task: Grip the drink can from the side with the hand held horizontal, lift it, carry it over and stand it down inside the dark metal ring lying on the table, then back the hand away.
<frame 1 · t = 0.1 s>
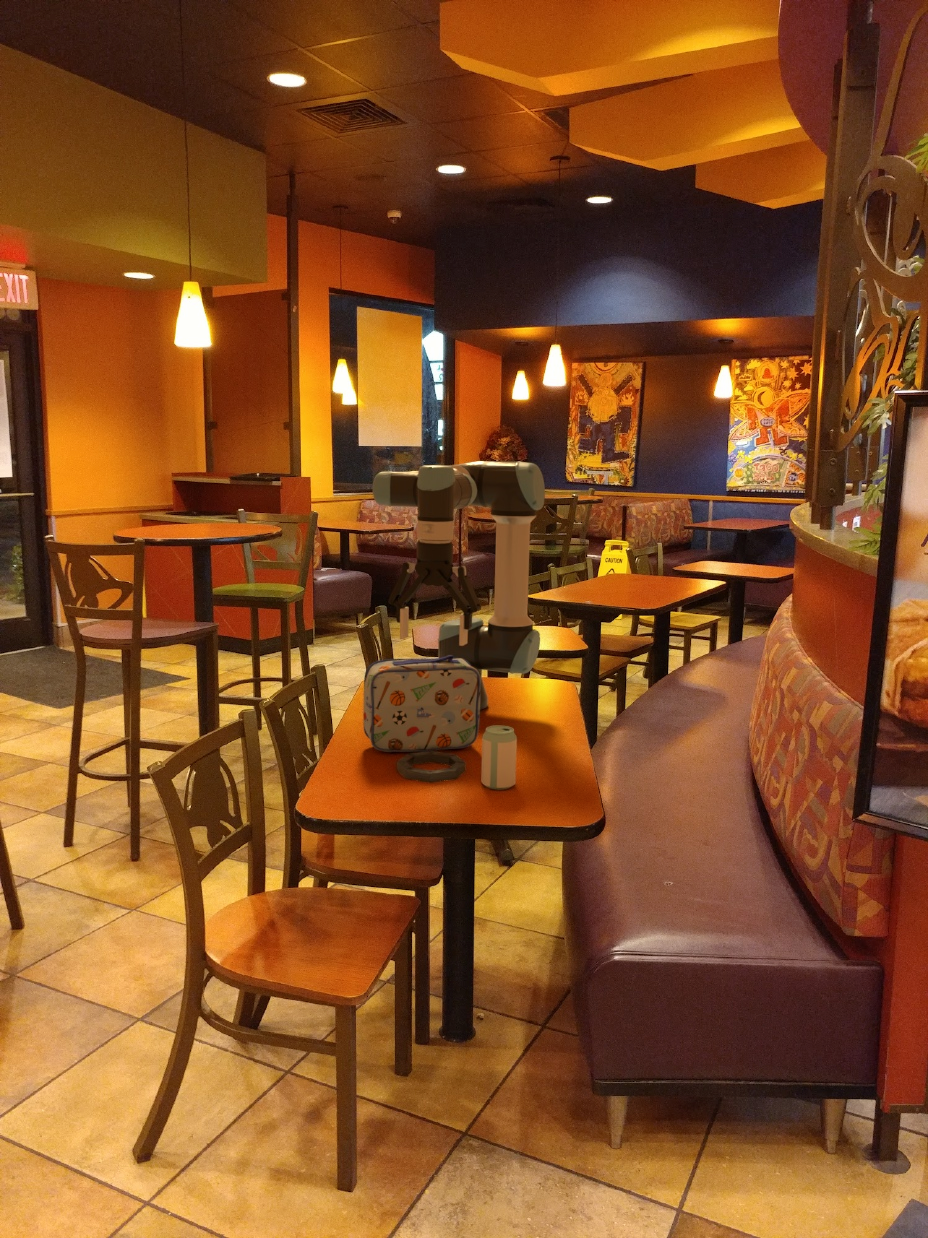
hand: (433, 641, 203), 28 cm above the table, tool pointing down, fingers open, 13 cm apart
ring: (431, 770, 206), on the table
lunch box: (423, 748, 222), on the table
can: (498, 785, 199), on the table
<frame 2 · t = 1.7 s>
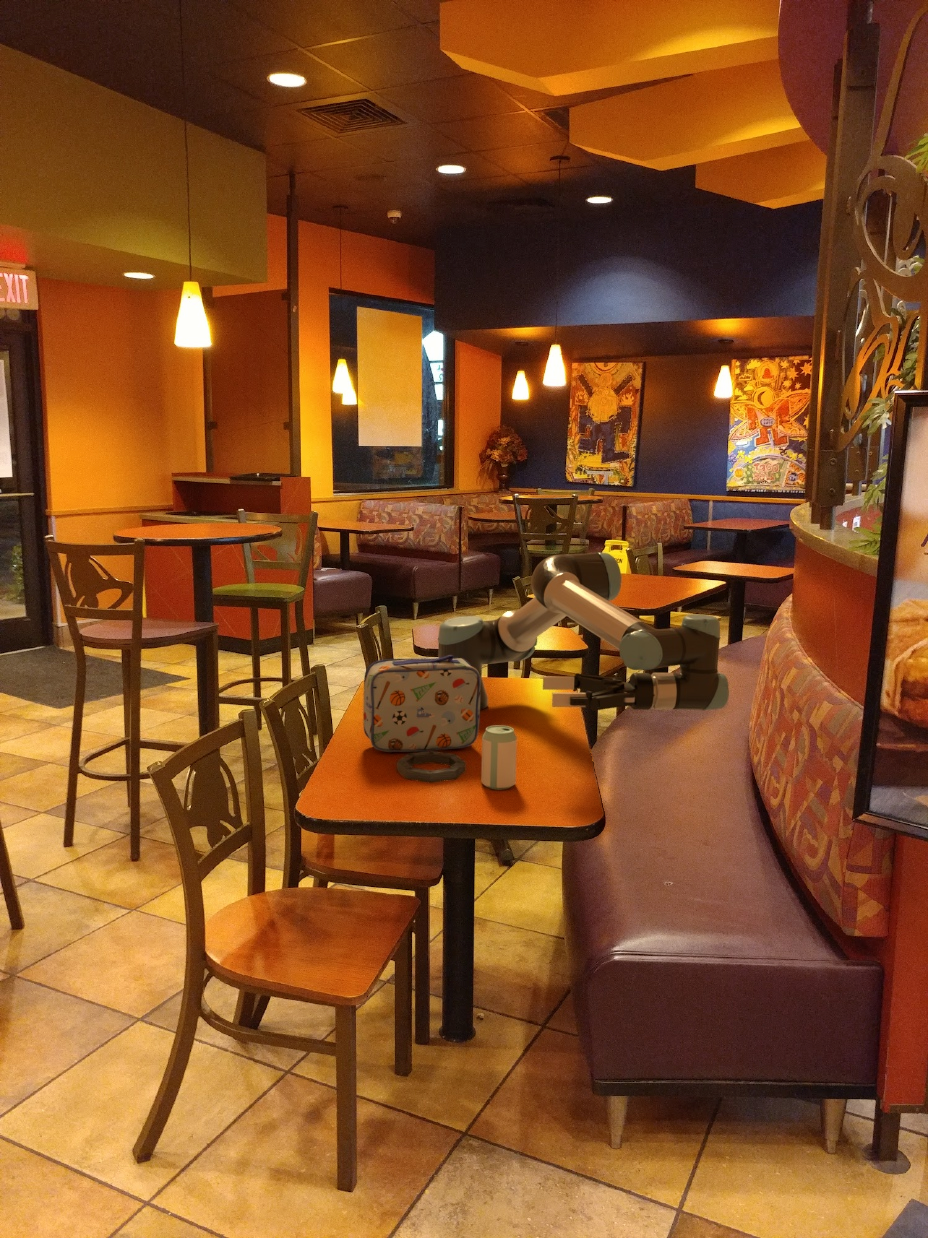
hand: (547, 691, 195), 20 cm above the table, tool horizontal, fingers open, 13 cm apart
nothing on the table moved.
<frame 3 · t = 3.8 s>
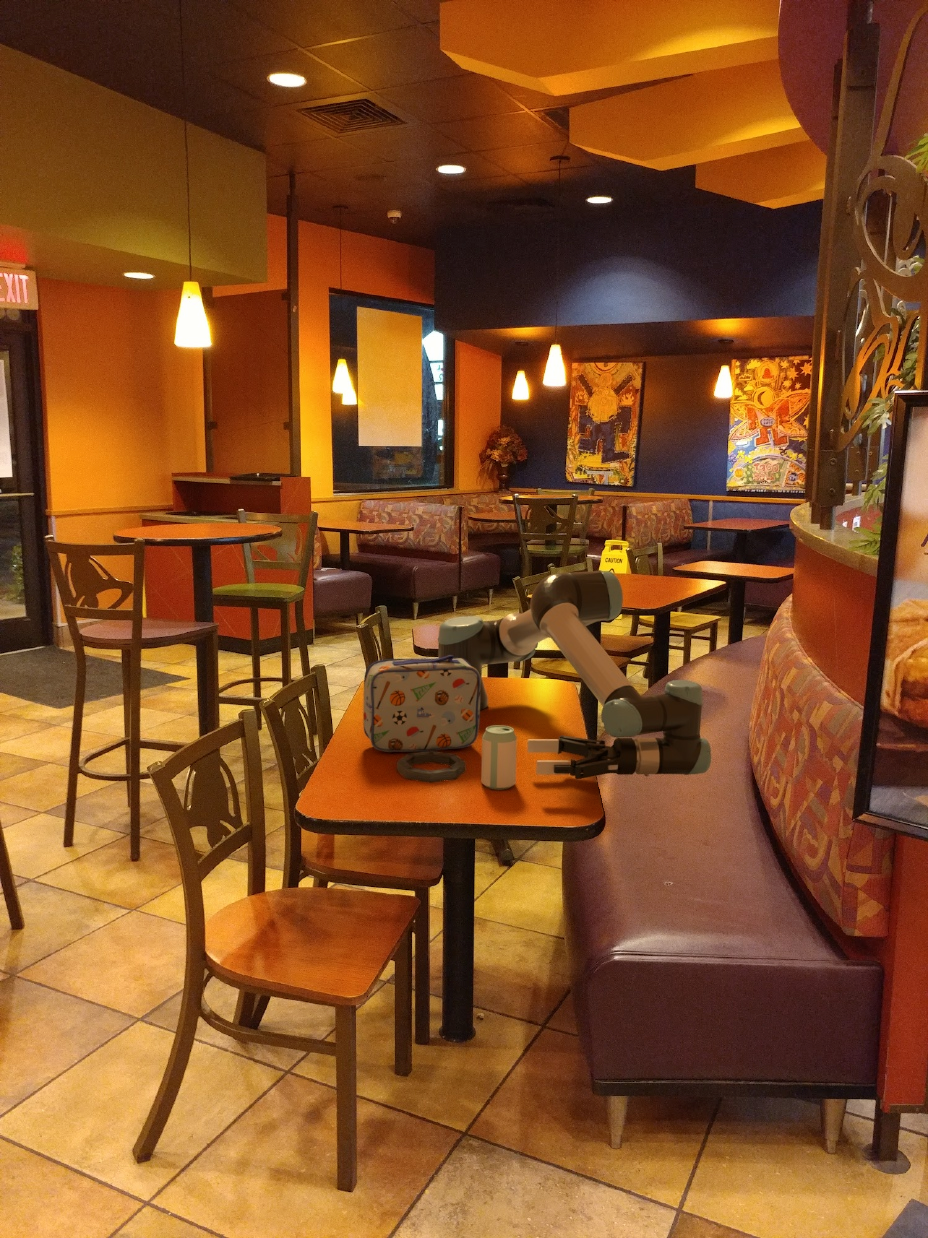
hand: (531, 756, 197), 6 cm above the table, tool horizontal, fingers open, 13 cm apart
nothing on the table moved.
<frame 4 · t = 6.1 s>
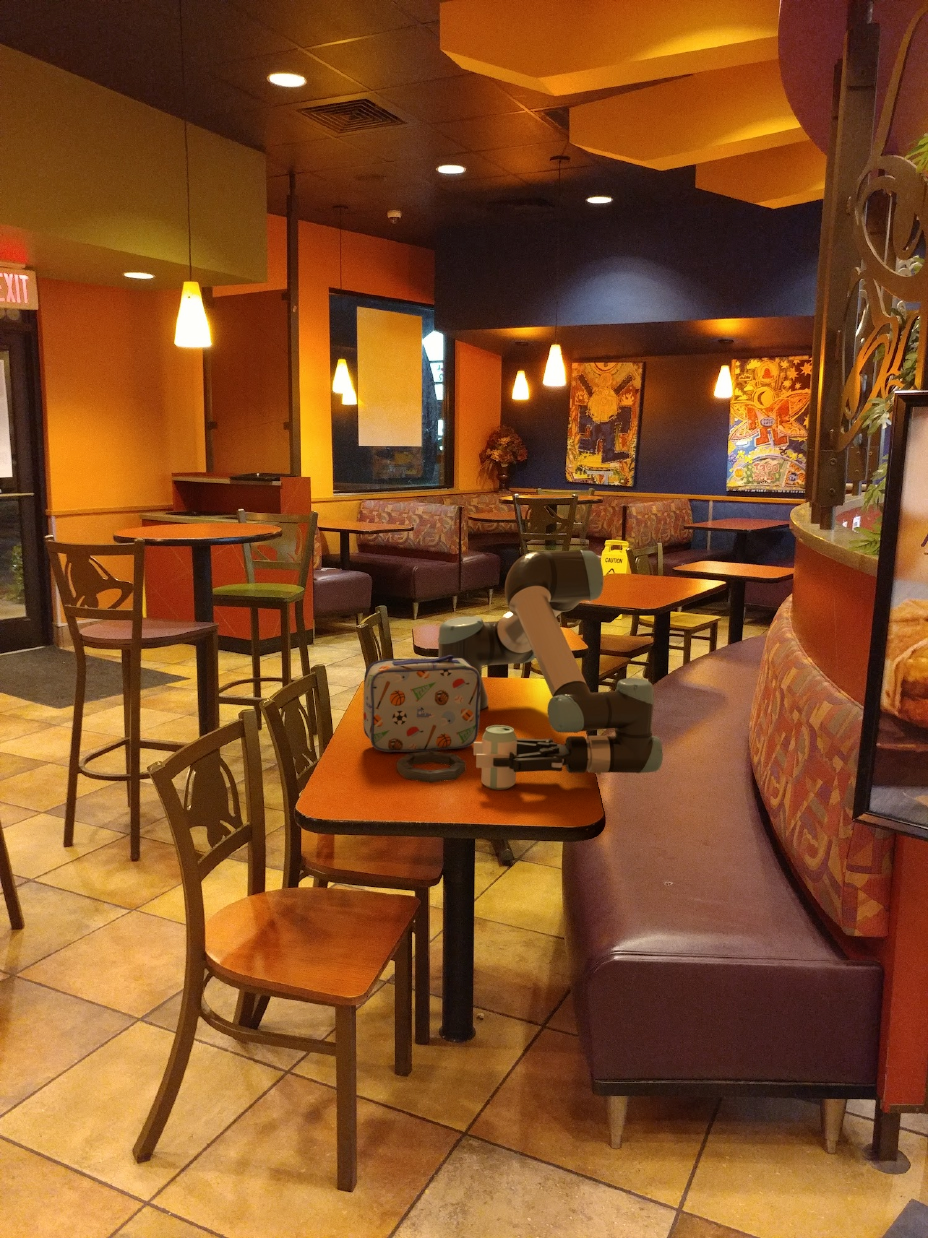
hand: (475, 754, 197), 7 cm above the table, tool horizontal, fingers closed on can, 7 cm apart
can: (498, 785, 199), on the table, touching gripper
everything else where it was.
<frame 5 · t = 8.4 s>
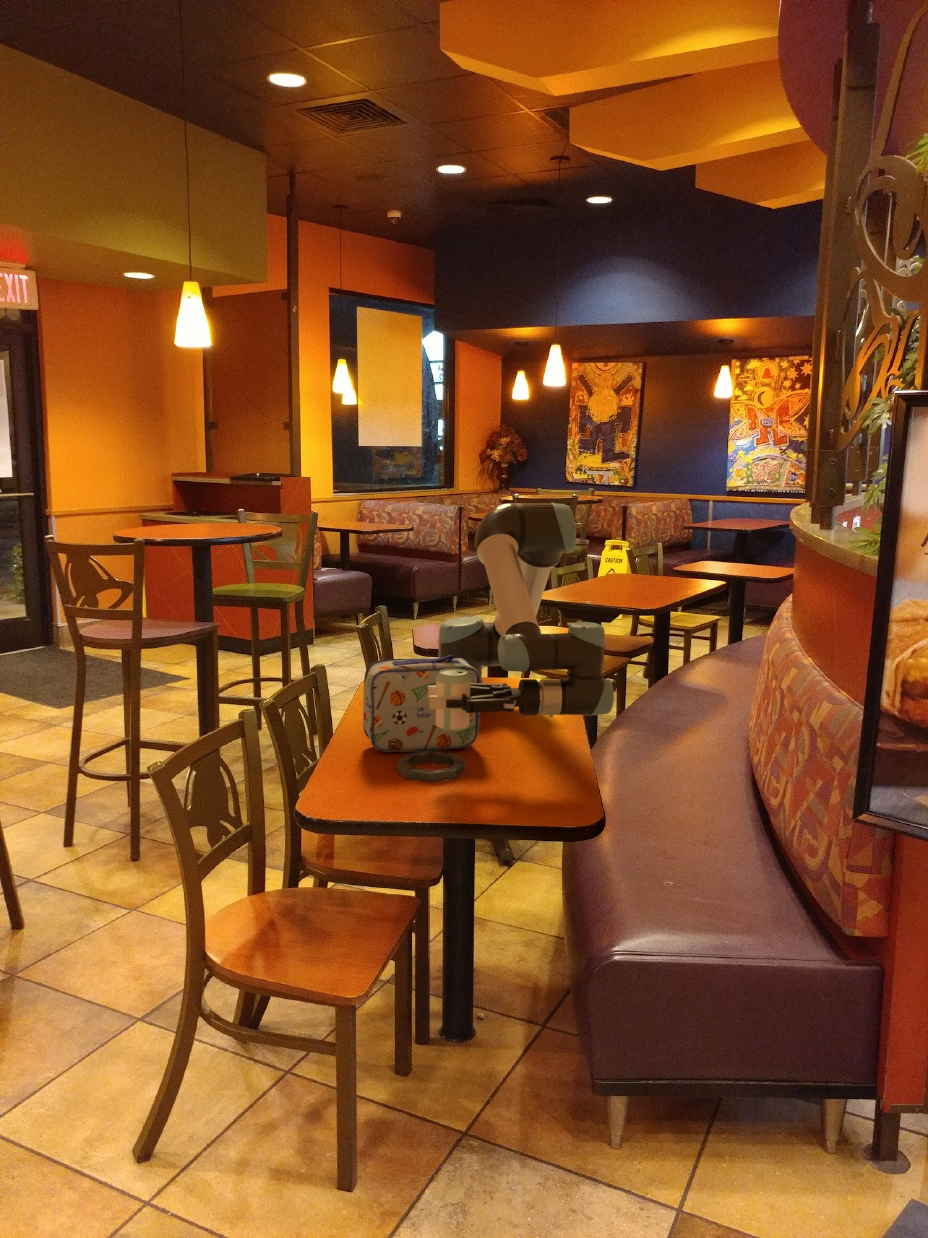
hand: (429, 697, 199), 17 cm above the table, tool horizontal, fingers closed on can, 7 cm apart
can: (452, 728, 201), point 11 cm above the table, touching gripper
everything else where it was.
when the fingers open (8 cm above the table, at t = 10.9 s): can drops 2 cm, resting in ring.
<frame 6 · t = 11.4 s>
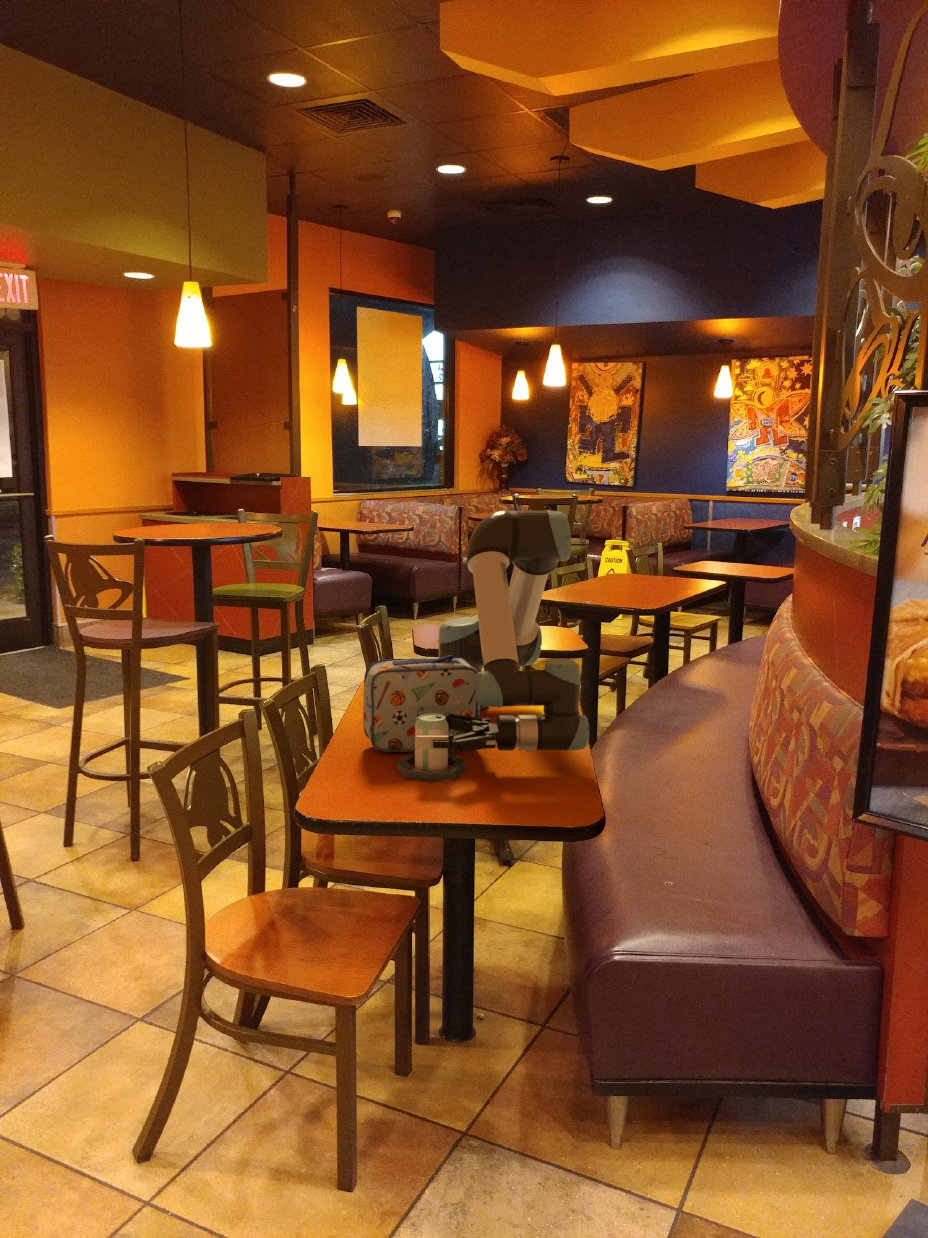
hand: (415, 732, 204), 8 cm above the table, tool horizontal, fingers open, 13 cm apart
can: (431, 771, 206), resting in ring
everything else where it was.
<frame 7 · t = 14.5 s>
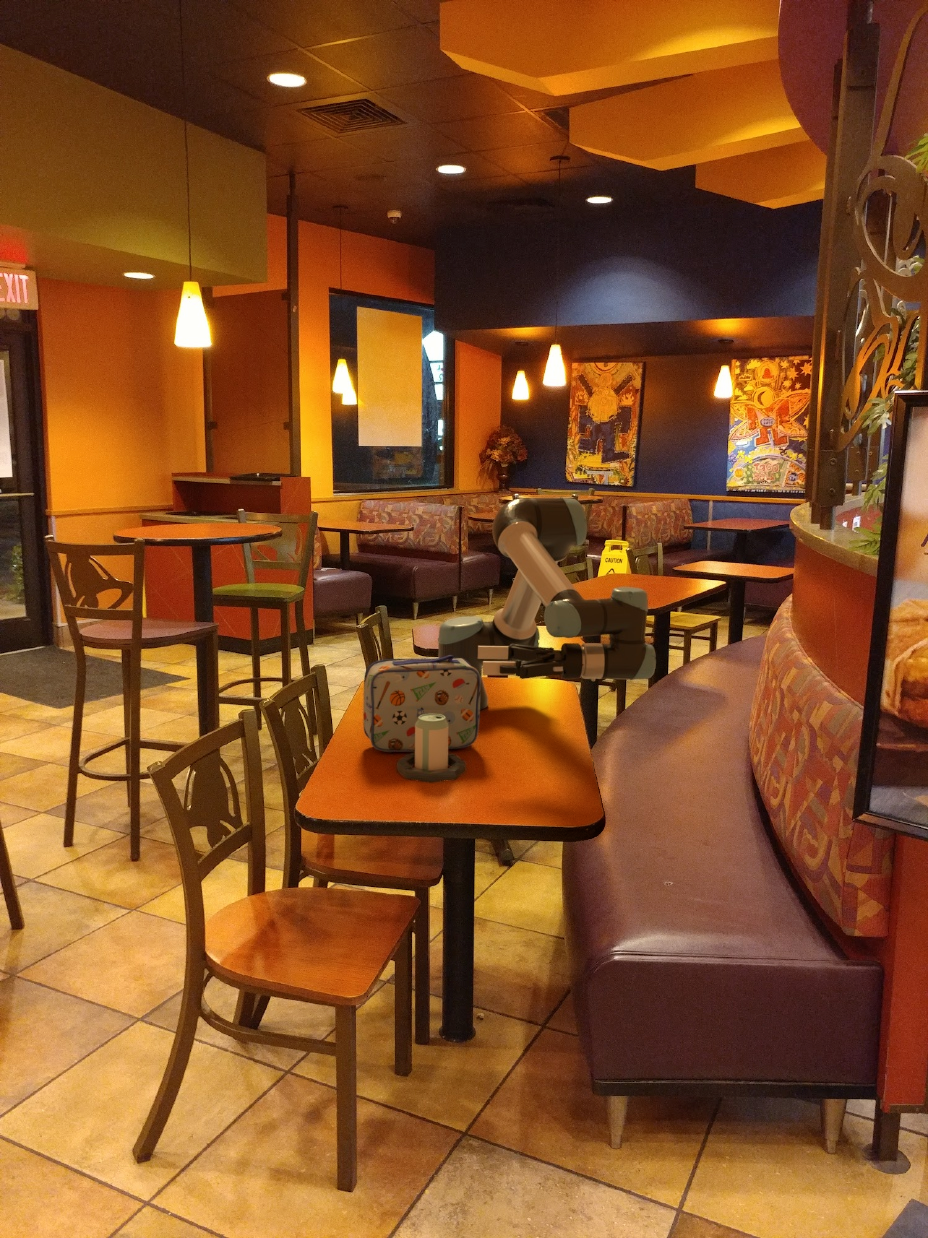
hand: (480, 660, 202), 25 cm above the table, tool horizontal, fingers open, 13 cm apart
nothing on the table moved.
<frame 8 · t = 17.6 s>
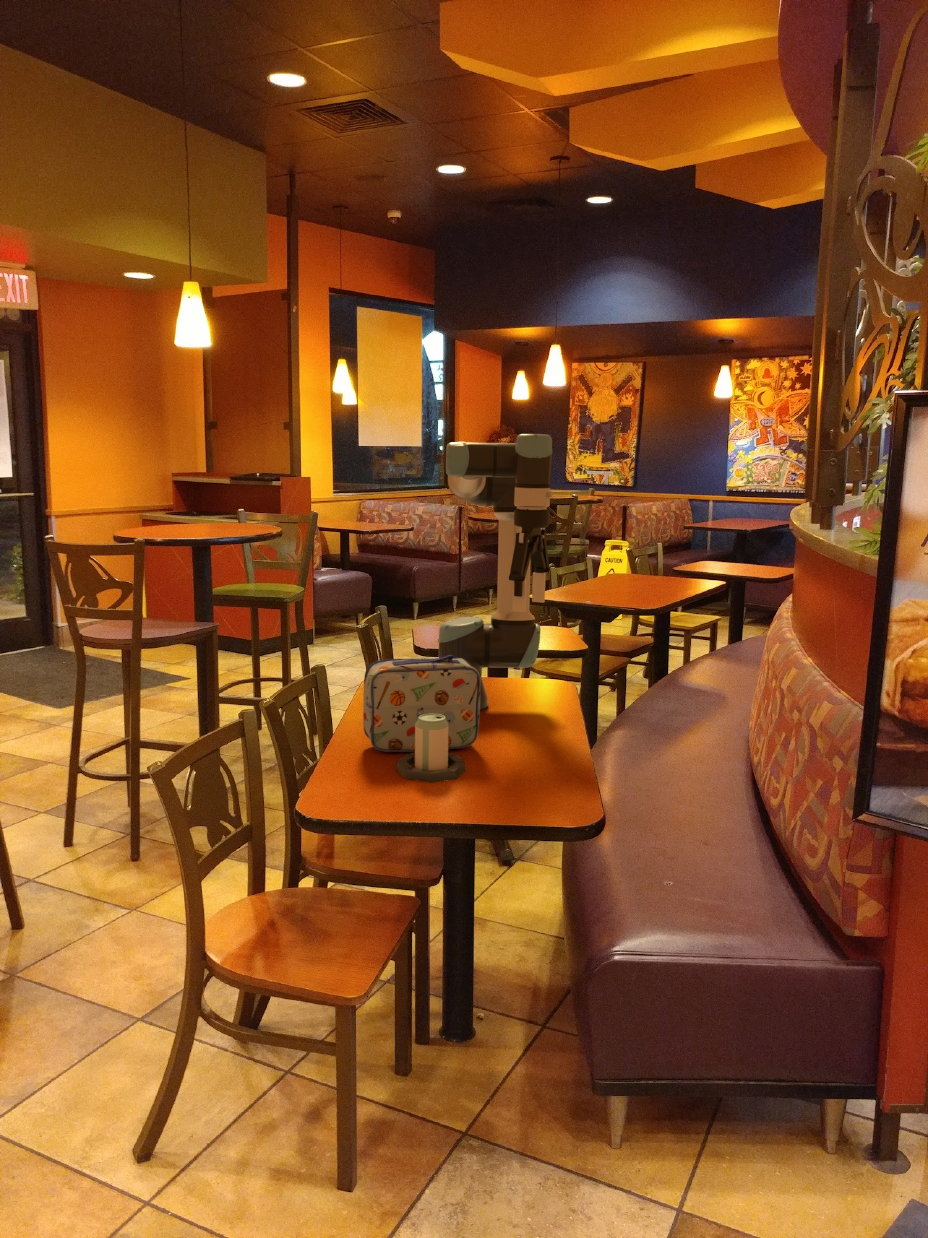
hand: (528, 606, 208), 35 cm above the table, tool pointing down, fingers open, 13 cm apart
nothing on the table moved.
at the end: can 0.0 cm from the ring (horizontally); can tilted 0°; can resting in ring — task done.
